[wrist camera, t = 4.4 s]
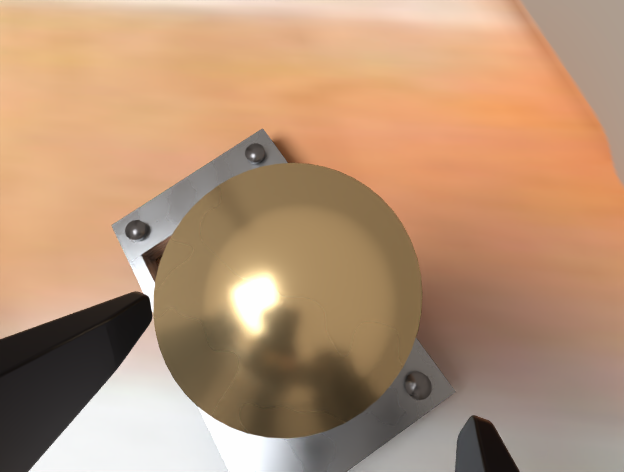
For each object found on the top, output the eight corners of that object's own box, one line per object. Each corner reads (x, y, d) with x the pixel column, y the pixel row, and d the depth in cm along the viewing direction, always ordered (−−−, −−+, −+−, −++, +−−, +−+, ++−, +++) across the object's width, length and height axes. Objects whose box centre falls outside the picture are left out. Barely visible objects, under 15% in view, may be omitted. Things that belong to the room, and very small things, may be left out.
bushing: (391, 331, 17) (485, 324, 5) (319, 382, 17) (231, 506, 5) (341, 260, 18) (319, 120, 6) (273, 307, 18) (113, 252, 6)
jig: (447, 387, 17) (458, 393, 15) (267, 517, 17) (256, 540, 15) (268, 141, 23) (261, 124, 21) (127, 232, 22) (106, 223, 20)
